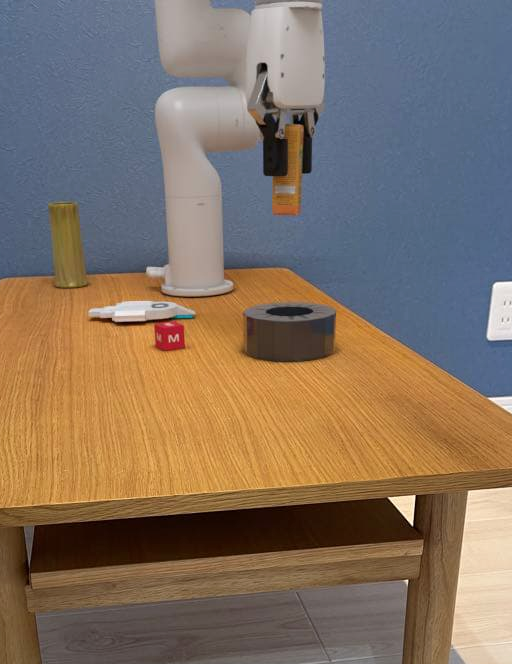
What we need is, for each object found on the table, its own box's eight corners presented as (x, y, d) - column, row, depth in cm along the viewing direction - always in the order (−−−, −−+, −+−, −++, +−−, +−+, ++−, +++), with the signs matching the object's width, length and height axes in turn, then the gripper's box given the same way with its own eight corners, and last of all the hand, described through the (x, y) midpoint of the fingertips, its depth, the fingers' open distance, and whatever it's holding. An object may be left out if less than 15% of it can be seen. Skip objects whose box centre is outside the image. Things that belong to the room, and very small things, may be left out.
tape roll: (236, 360, 106) (235, 320, 104) (253, 338, 117) (252, 301, 114) (329, 363, 104) (330, 321, 102) (338, 340, 114) (339, 302, 112)
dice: (185, 348, 113) (183, 325, 112) (164, 351, 112) (162, 328, 110) (176, 343, 115) (174, 321, 114) (155, 346, 114) (153, 323, 113)
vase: (95, 283, 159) (87, 201, 152) (72, 289, 154) (63, 205, 148) (70, 281, 162) (61, 201, 155) (47, 286, 157) (38, 204, 151)
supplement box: (299, 215, 103) (300, 123, 99) (271, 215, 104) (271, 124, 99) (303, 212, 106) (304, 122, 102) (275, 212, 107) (275, 123, 102)
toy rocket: (84, 326, 126) (83, 311, 125) (96, 313, 135) (94, 298, 134) (192, 324, 125) (192, 308, 124) (197, 311, 134) (196, 296, 133)
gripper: (303, 4, 103) (301, 170, 111) (214, -7, 91) (219, 178, 99) (356, -2, 98) (351, 170, 107) (270, -15, 87) (271, 180, 95)
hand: (287, 172), depth 103 cm, fingers closed on supplement box, 4 cm apart
